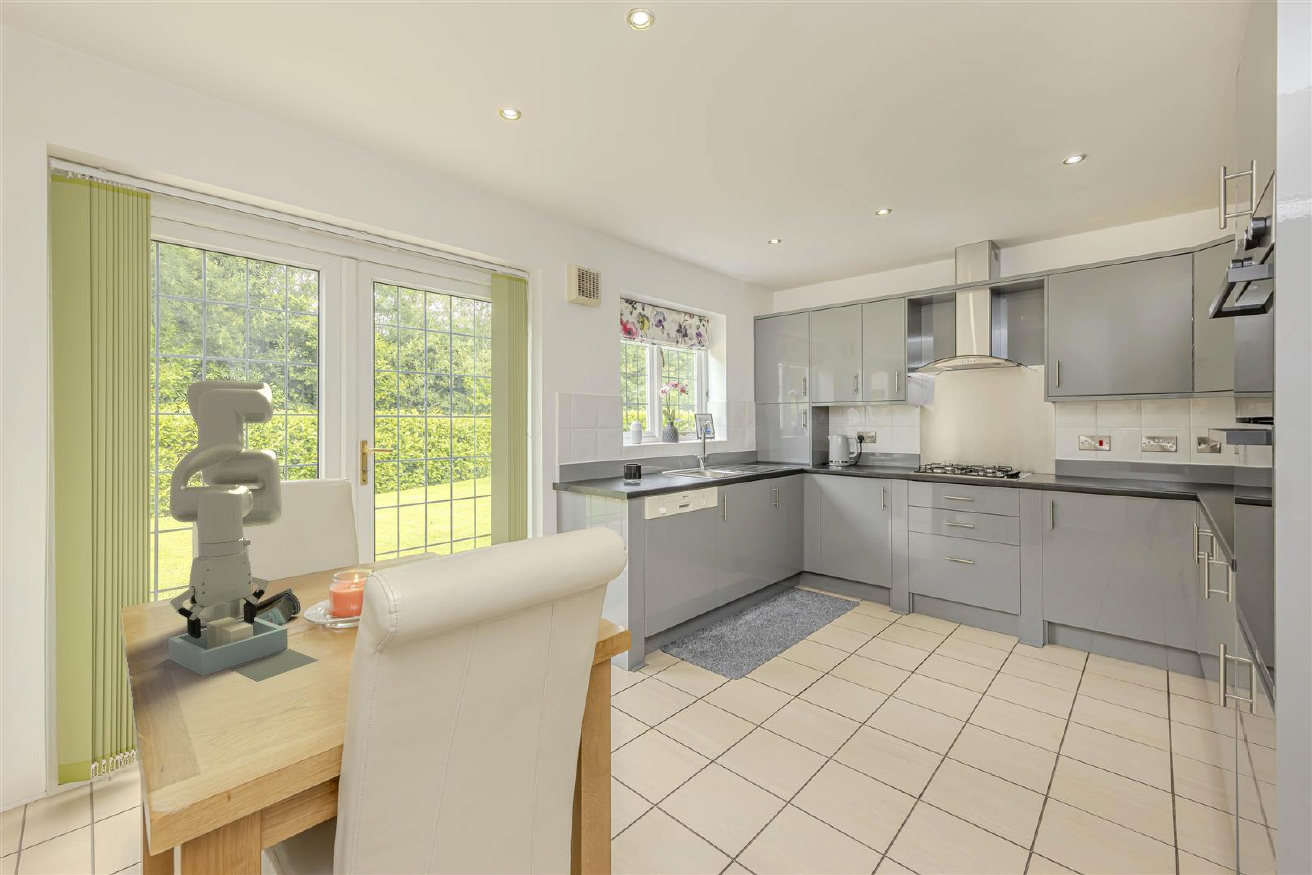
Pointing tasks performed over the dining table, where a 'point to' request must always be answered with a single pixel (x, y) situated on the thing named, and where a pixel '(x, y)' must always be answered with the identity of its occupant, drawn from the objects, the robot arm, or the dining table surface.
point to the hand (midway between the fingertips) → (223, 629)
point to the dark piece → (278, 607)
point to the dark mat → (273, 664)
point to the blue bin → (226, 648)
